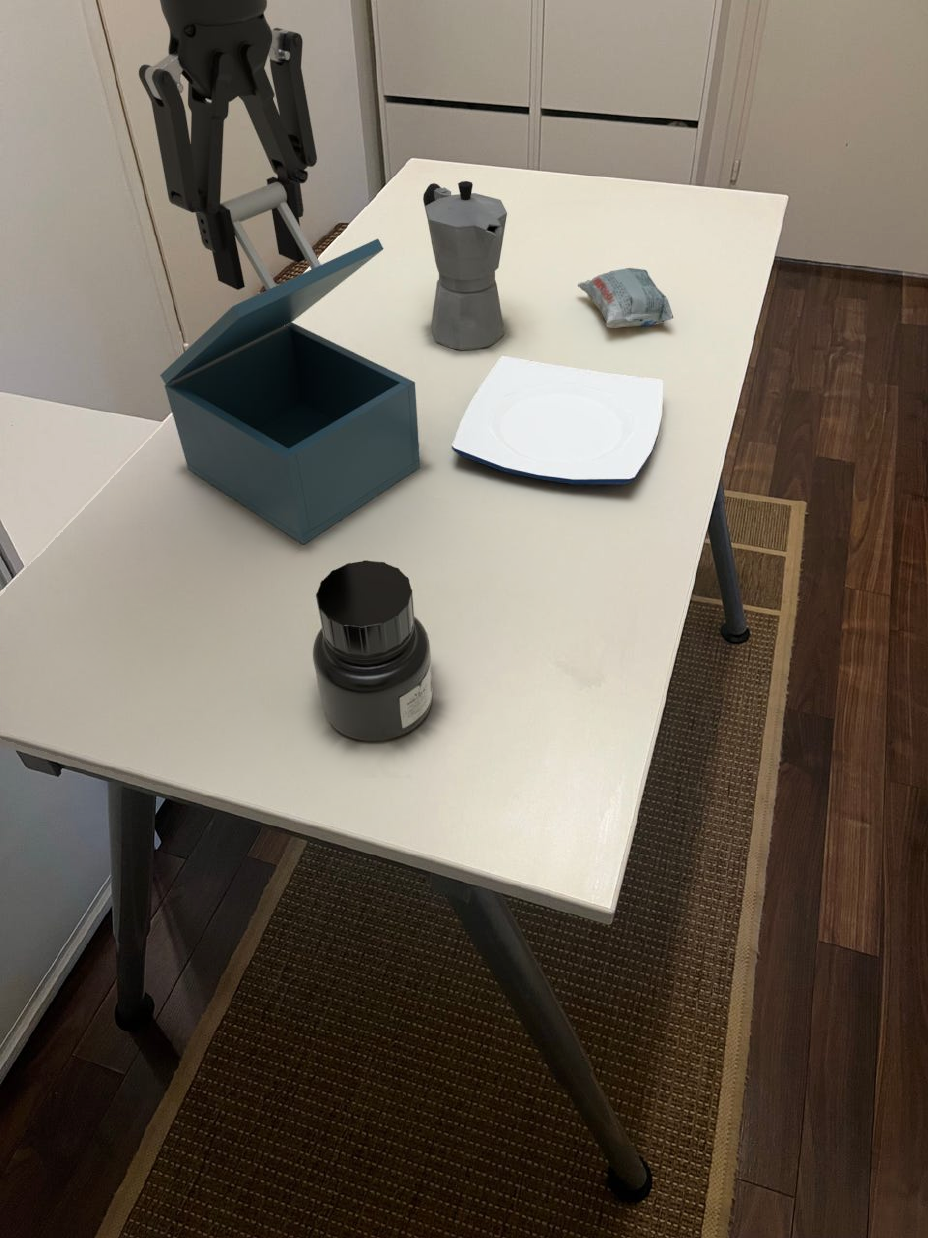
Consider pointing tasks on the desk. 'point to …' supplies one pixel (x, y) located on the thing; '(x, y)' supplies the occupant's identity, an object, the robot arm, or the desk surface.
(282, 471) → the chest
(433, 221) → the coffeepot
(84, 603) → the desk surface
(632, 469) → the plate
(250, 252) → the lid
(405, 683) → the ink bottle
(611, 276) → the packaged food
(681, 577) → the desk surface
